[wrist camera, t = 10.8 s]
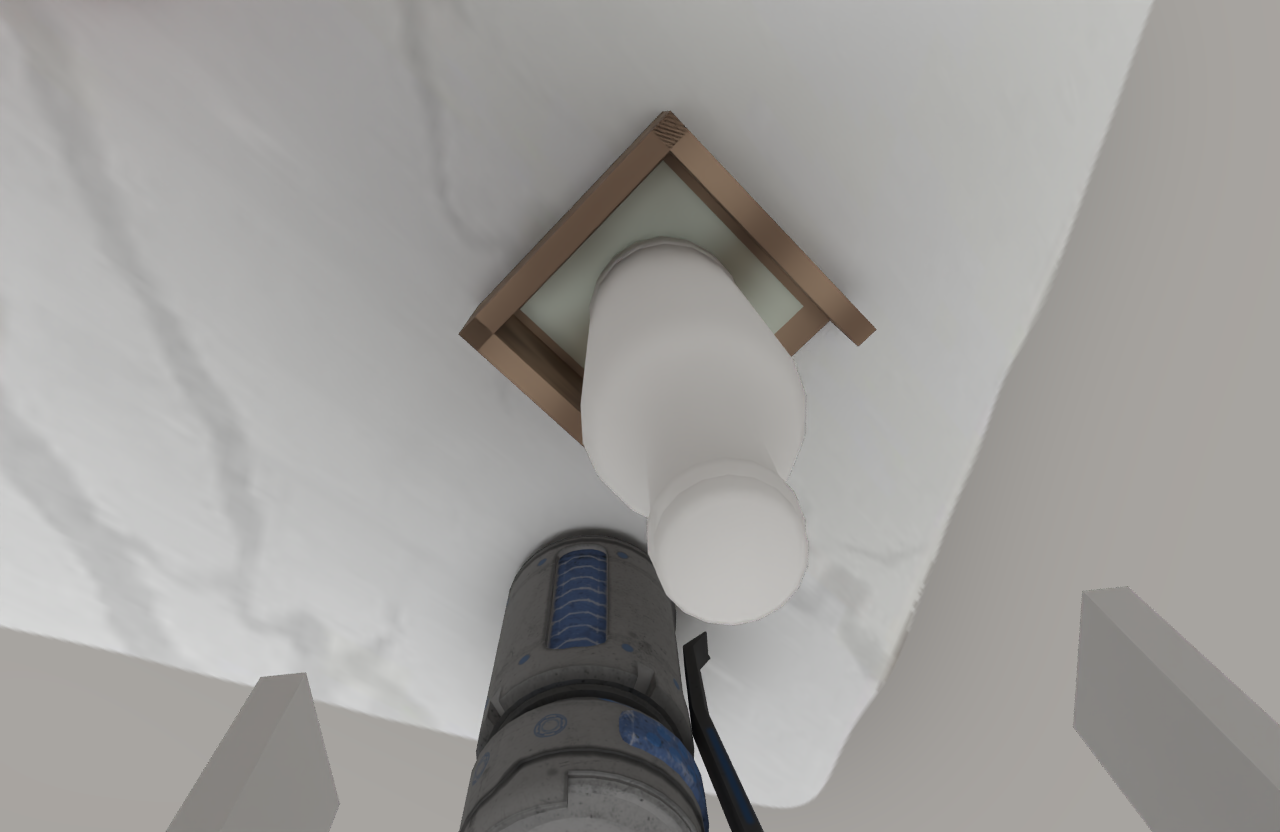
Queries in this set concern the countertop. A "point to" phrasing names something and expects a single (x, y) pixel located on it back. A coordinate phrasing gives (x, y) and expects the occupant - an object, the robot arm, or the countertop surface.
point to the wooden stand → (621, 215)
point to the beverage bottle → (596, 705)
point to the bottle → (697, 428)
